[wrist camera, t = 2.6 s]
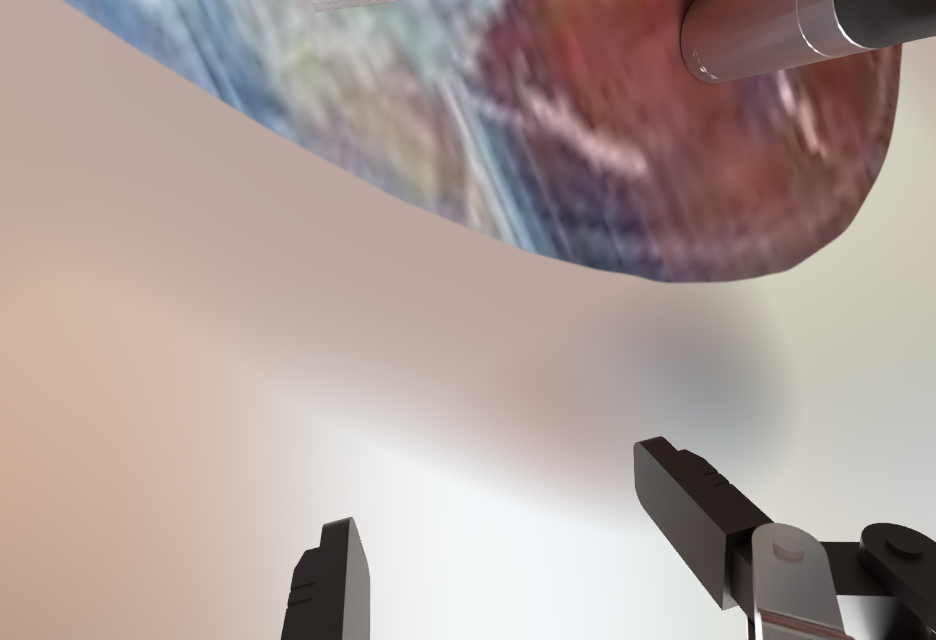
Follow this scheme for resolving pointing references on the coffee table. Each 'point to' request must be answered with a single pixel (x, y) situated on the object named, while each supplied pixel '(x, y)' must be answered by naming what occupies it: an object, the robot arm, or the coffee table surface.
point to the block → (342, 4)
